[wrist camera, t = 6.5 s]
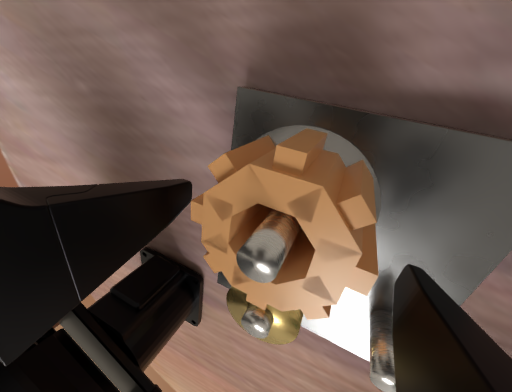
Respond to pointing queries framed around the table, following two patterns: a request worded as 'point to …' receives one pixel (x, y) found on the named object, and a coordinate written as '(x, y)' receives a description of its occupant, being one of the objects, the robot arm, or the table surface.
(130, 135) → the table surface
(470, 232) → the carrier
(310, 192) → the gear
